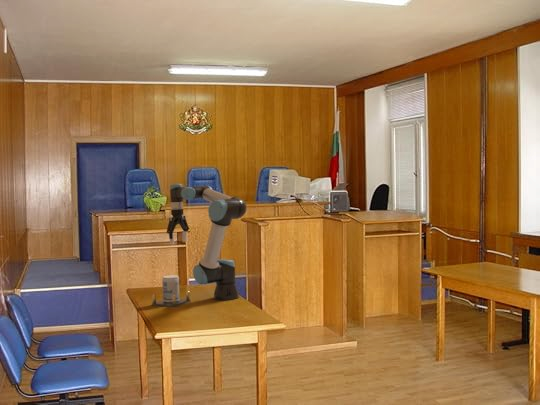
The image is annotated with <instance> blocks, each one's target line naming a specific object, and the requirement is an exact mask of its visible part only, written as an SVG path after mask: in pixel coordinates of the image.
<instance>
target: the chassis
mask: <svg viewBox="0 0 540 405" xmlns="http://www.w3.org/2000/svg"><path fill="white" fill-rule="evenodd" d="M185 293H186V294H185V297H186V298H179V301H177V302H176V299H175V296H172V302H171V303H167V302H164V301H163V299H161V300H157V296H156V293H154V294H151V296H152V300H151V301H152V303H151V305H152V306H154V305H155V306H156V307H167V308H176V307H178V306H181V305H186V304H188V303H191V297H190V296H191V295H190V293H191V292H190V290H186V292H185ZM155 306H154V307H155Z"/></svg>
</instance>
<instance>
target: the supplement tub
mask: <svg viewBox="0 0 540 405" xmlns="http://www.w3.org/2000/svg"><path fill="white" fill-rule="evenodd" d="M161 284H162V300H163V301H164V302H167V303H171V302H172V296H175V299H176V302H177V301H179V299H180V277H179V275H176V274H175V275H174V274H170V275H164V276H162V283H161Z"/></svg>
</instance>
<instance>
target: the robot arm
mask: <svg viewBox="0 0 540 405" xmlns="http://www.w3.org/2000/svg"><path fill="white" fill-rule="evenodd" d="M169 192H170V193H169V194H170V196H169V197H170V213H171V214H170V215H171V217H169V218H168V219H169V220H168V225H167V229H166V234H168V237H169V245H175V234H174V231H175V229H176V227H177V225H179V226H180V227H181V230H182V242H183V243H184V242H185V243H187V242H188V232H189V230H190V226H189V223H188V222H187V217H186V215H184V209H183V208H184V201H183V200H186V201H187V200H195V199H202V200H205V201H206V202H209V203H210V205H209V206H208V210H207V213H208V217H209V219H210V220H209V221H210V222H211V227H210V230H209V234H208V239H207V242H206V246H205V250H204V253H203V257H201V258H200V259H199V263H198V264H196V265H194V266H193V269H192V274H193V278H194V280H195V281H196V284H199V285H207V284H214V283H215V285H216V286H215V289H214V293H213V299H214V300H217V301H218V300H219V301H229V300H230V301H231V300H236V299H238V298H239V297H240V293H239V290H238V288H237V284H236V266H235V265H236V263H235V261H234V260H232V259H224V258H223V259H222V258H221V259H220V258H219V257H220V253H221V250H222V245H223V242H224V239H225V234H226V232H227V231H226V230H227V229H228V228H227V227H230V226H231V224H232V220H237V219H240V218H242V217H244V216H245V214H246V213H247V208H248V207H247V204H246V202H245V200H244V199H242V198H240V197H237V196H230V195H227V194H225V193H222V192H219V191H217V190H214V189H213V188H212V187H211V186H210V185H200V186H183V184H182V183H172V184H170V185H169Z"/></svg>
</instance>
